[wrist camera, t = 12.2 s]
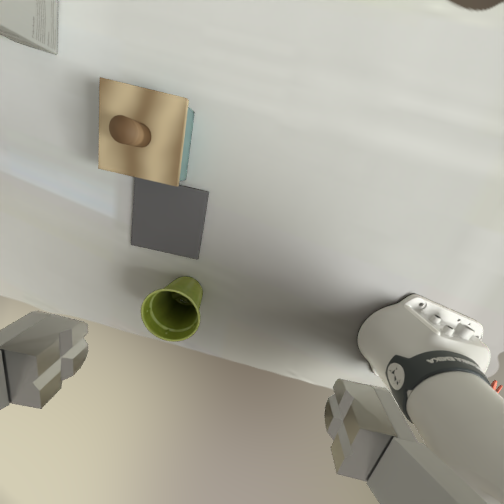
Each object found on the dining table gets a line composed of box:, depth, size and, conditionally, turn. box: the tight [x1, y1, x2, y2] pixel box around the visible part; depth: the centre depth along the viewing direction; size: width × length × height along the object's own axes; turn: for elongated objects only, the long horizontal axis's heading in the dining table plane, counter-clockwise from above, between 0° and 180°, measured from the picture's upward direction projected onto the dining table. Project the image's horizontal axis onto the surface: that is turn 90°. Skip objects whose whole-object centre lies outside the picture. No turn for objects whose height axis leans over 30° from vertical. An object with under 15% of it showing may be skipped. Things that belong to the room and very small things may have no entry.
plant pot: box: [141, 277, 203, 341], centre depth 42 cm, size 9×9×9 cm
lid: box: [98, 77, 189, 186], centre depth 30 cm, size 11×11×5 cm
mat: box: [131, 177, 209, 259], centre depth 41 cm, size 12×12×1 cm
